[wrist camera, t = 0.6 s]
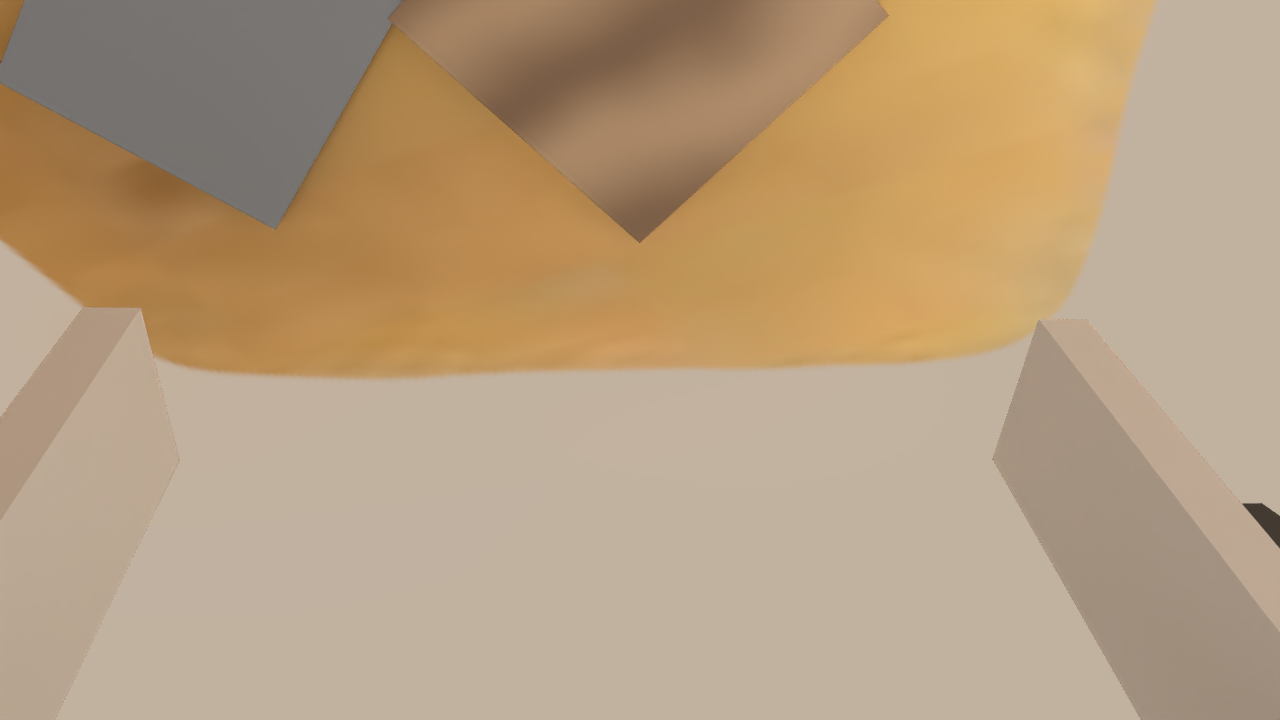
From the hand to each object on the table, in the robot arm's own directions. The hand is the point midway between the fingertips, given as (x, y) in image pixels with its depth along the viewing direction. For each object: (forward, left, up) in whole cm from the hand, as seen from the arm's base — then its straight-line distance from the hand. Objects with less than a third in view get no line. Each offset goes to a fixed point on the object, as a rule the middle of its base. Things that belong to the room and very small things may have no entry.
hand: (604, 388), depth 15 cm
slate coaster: (-8, -10, -23) cm, 26 cm away
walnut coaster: (+2, +1, -23) cm, 23 cm away
